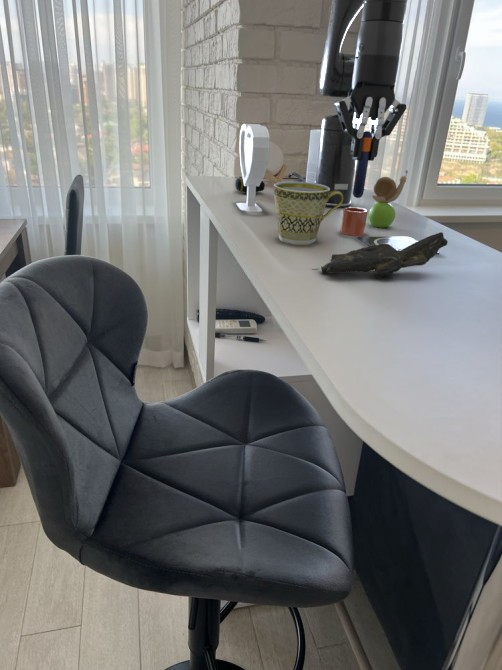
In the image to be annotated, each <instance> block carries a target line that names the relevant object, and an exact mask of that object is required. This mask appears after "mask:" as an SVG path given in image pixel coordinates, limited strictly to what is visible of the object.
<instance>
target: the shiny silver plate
mask: <svg viewBox="0 0 502 670" xmlns="http://www.w3.org/2000/svg"><path fill="white" fill-rule="evenodd" d="M356 237H357V239H358V240H359V241H361V242H362V243H364V244H365V245H366V246H367V247H369V246H375V245H380V244H389V245H391V246H392V247H393V248H394V249H395V250H397V251H401V250H403V249H404V248H406V247H408V246H410V245H412V244H414V243H416V242H418V241H419V240H417V239H415V238H413V237H411V236H408V235H406V236H405V235H403V236H401V235H400V236H397V235H395V236H391V235H390V236H356ZM435 255H440V252H439V251H438V252H437V253H436V254H435Z"/></svg>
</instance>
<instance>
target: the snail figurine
mask: <svg viewBox="0 0 502 670" xmlns="http://www.w3.org/2000/svg"><path fill="white" fill-rule="evenodd" d="M404 172H405V175H401V176H400V177H399V181H398V184H396V181H395V180H394V179H393V178H391V177H388V176H382V177H380V178H378V179H376V181H375V182H374V183H373V192H374V194H375V195H372V196H371V198H372V199H373V200H374V201H375V202H376V203H374V204H372V206H371V207H370V209H369V210H368V213H367V218H368V221H369V223H370V224H371V225H372V226H373V227H374V228H380V229H386V228H388V227H389V226H391V225H392V224H393V222H394V221H395V219H396V211H395V208H394V206H393V205H392V204H391V203H392V202H394V201H396V200H397V199H398V198H399V197H400V195H401V193H402V191H403V189H404V187H405V184H406V182H407V179H408V178H407V176H408V175H407V174H409V171H408V169H406V170H404Z"/></svg>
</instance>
